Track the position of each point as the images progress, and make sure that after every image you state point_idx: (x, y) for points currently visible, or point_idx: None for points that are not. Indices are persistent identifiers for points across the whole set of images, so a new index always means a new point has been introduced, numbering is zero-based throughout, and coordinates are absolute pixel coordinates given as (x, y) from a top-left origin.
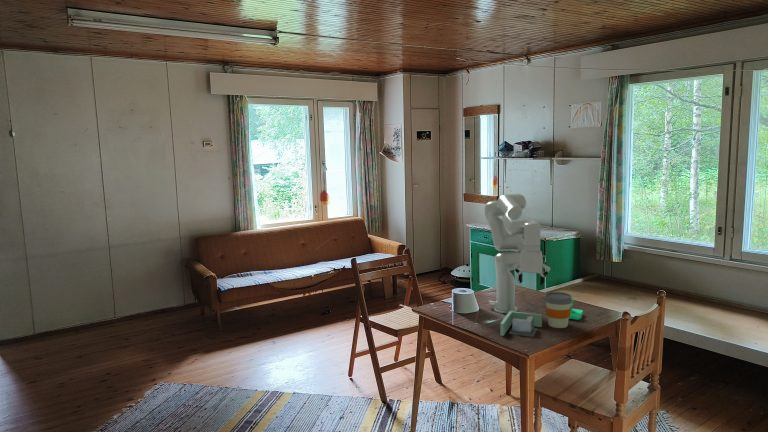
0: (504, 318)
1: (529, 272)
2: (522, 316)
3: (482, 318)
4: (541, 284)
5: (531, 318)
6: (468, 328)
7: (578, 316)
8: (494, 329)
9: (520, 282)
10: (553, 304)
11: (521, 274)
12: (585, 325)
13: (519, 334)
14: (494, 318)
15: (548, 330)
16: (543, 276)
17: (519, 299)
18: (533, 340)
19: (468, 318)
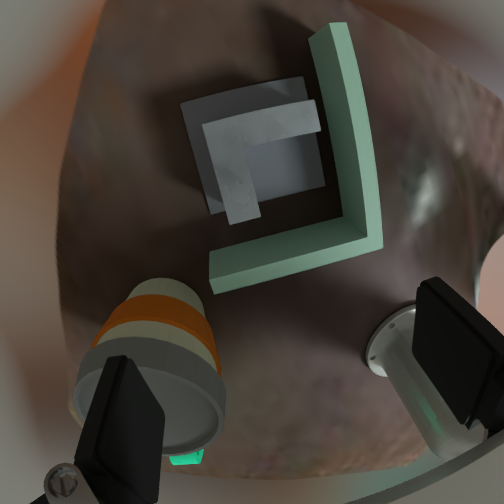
0: (364, 110)
1: (362, 502)
2: (307, 245)
3: (455, 211)
4: (108, 361)
5: (226, 185)
6: (457, 74)
7: None
8: (379, 104)
9: (430, 282)
10: (136, 337)
11: (482, 399)
12: None
13: (250, 87)
14: (420, 237)
15: (163, 231)
16: (62, 476)
17: (378, 426)
18: (161, 64)
19: (488, 184)
